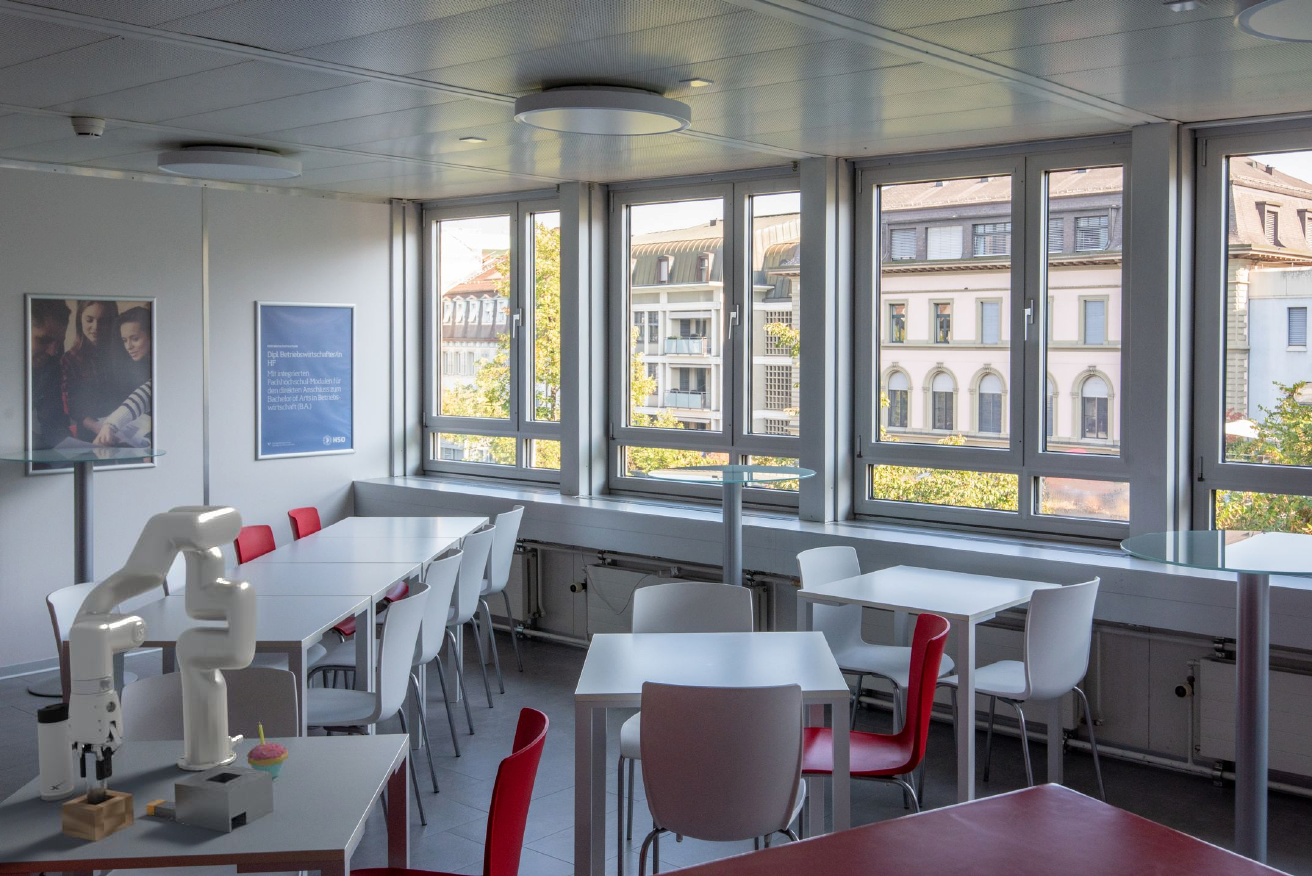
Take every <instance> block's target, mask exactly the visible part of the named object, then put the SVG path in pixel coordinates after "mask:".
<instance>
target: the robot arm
mask: <svg viewBox="0 0 1312 876" xmlns="http://www.w3.org/2000/svg"><path fill="white" fill-rule="evenodd" d="M242 528H243V518H242V515H241V513H240V512H239V511H238V509H236V508H235V507H233V506H231V505H180V506H175V507H173V508H171V509H169V510H168V511H167V512H161V513H156V514H154V515H153V516H151V517H150V518H149V519H148V520H147V522H146V524H145V526H144V528H143V529H142V532H141V533H140V535H139V537H138V539H137V541H136V543H135V545H134V547H133V549H132V551H131V553H130V555H129V556H128V559H127V560H126V562H125V564H124V566H123V567H122V568H120V569H118V570H117V571H115V572H114V573H113V574H111V575H109V576H108V577H106V579H104V580H103V581H101V582H100V583H99V584H98V585H96V586H95V587H94V588H93V589H92V590H91V591H90V592H88V594H87V595H86V597H85V598H84V600H83V602H82V603H81V605H80V607H79V609H78V611H77V613H76V615H75V617H74V619H73V622H72V624H71V627H70V628H69V632H68V645H69V668H70V669H69V670H70V696H69V702H68V703H69V736H68V740H69V741H70V742H71V743H72V745H73V747H74V748H75V750H76V755H77V758H79V770H80V771H79V775H80V778H82V779H86V762H85V752H86V751H88V750H91V749H94V747H95V749H97V756H98V760H96V779H97V780H99V781H100V780H103V779H106V778H107V779H108V778H110V777H112V776H113V766H112V765H113V763H112V761H113V760H112V758H113V757H114V755H115V752H117V750H118V749H119V748H121V747H122V746H123V742H122V738H123V737H124V726H123V718H122V717H123V715H122V710H121V709H122V707H121V704H120V698H119V695H118V691H117V690H115V682H114V679H115V678H114V657H113V656H114V654H119V653H124V652H125V653H126V652H129V651H134V650H136V649H138V648H139V647H140V646H142V645H143V643H144V642H145V640H146V639H147V636H148V631H149V630H148V624H147V622H146V621H145V620H144V618H142V617H141V616H139V615H137V614H134V613H133V614H132V613H116V612H114V613H112V612H111V611H112V610H114V609H115V608H117V606H118V605H120V604H122V603H123V602H125V601H127V600H129V599H132V598H134V597H135V598H136V597H138V596H141V595H143V594H146V593H148V592H150V591H153V590H155V589H157V588H159V587H161V585H163V584H164V582H165V581H166V578H167V576H168V574H169V571H170V569H172V568H171V567H172V566H173V564H174V562H175V560H176V558H177V555H178V553H179V552H182V554H183V556H184V560H185V586H184V587H185V588H184V609H185V613H186V616H188V618H190V619H192V620H195V621H204V622H206V621H207V622H208V621H209V622H227V627H225V626H195V627H194V626H193V627H190V628H188V629H185V630H184V631H182V632H181V633H180V634H179V636H178V638H177V640H176V642H175V643H176V644H175V654H176V659H177V664H178V666H179V670H180V677H181V690H182V716H183V718H182V719H183V737H184V738H183V739H184V741H183V742H184V743H183V744H184V755H182V756H180V758H178V760H177V766H178V768H180V769H181V768H182V770H186V771H205V770H207V769H210V768H212V767H214V766H217V765H219V764H222V765H229V764H231V763H233V762H234V761H235V760H236V759H237V752H236V751H235V750H233V747H234V746H235V745H236V746H237V745H239V744H241V743H243V742H244V737H243V735H242V734H238V735H235V736H229V718H228V695H227V694H228V691H227V689H228V687H227V683H226V679H225V677H224V675H223V674H222V671H221V670H241V669H244V668H247V667H248V666H249V665H251V663H252V661H253V660H254V657H255V652H256V645H257V620H258V619H257V618H258V617H257V615H258V612H257V611H258V605H257V604H258V601H257V600H258V599H257V594H256V593H257V592H256V591H255V589H254V587H253V585H251V583H250V582H248V581H245V580H241V579H227V578H226V559H225V554H224V552H223V550H222V548H221V547H223V546H225V545H228V544H231V543H233V542H234V541H235V540H236V539H238V538H239V536H240V534H241V531H242V530H243V529H242ZM104 747H105V748H104ZM103 749H105V750H104V751H103Z"/></svg>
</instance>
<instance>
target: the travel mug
mask: <svg viewBox="0 0 1312 876" xmlns="http://www.w3.org/2000/svg"><path fill="white" fill-rule="evenodd" d="M36 712H37V713H36V715H37V716H36V717H37V722H36V723H37V738H38V739H37V740H38V741H37V742H38V762H39V763H38V765H39V785H40V786H39V787H40V799H41V800H42V801H45V802H46V801H47V802H55V801H60V800H64V799H68V798H70V797H71V796H72V795H73V794H74V791H75V790H74V770H73V769H74V766H73V746H72V745H73V744H72V743H71V742H70V741H69V740H68V736H69V702H59V703H54V704H50V705H47V706H44V707H43V708H38V709H37V711H36Z"/></svg>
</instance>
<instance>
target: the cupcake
mask: <svg viewBox="0 0 1312 876" xmlns="http://www.w3.org/2000/svg"><path fill="white" fill-rule="evenodd" d="M258 731H259V737H260V742H261V744H258V745H256V746H255V747H253V748H251V749H250V751H249V752H248V753H247V756H246V758H247V763H248V764H249V765H250V766H251V769H254V770H261V771H267V772H272V779H274V778H276V777H278V776H279V775H280V772H281V771H280V770H281V767H282V765H283V762H284V761H285V760H286V759H287V758H288V757H289V754H288V753H289V752H288V749H287V748H286V747H284V746H283V745H281V744H279V743H274V742H273V743H271V742H269V743H268V742H267V743H266V742H265V737H264V732H263V726H262V724H261V722H260V721H258Z"/></svg>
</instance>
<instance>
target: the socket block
mask: <svg viewBox="0 0 1312 876" xmlns="http://www.w3.org/2000/svg"><path fill="white" fill-rule="evenodd" d="M273 788H274V787H273V778H272V772H267V771H261V770H254V769H253V768H249V767H248V768H246V767H241V766H235V765H229V764H228V765H222V764H219V765H217V766H214V767H212V768H210V769H207V770H201V771H200V772H198V773H196V774H193V775H191V776H189V777H187V778H184V779H181V780H178V781H176V782H174V802H175V808H176V819H175V823H176V824H181V823H184V824H183V825H187V826H192V827H196V828H197V827H198V828H204V829H208V830H209V829H210V830H214V831H219V832H225V833H231V832H232V822H233V823H238V824H243V825H247V824H250V823H252V822H254V821H256V820H258V819H259V818H261V817H264V816H266V815H267V814H269V813H272V812H273V811H274V792H273V790H274V789H273Z"/></svg>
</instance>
